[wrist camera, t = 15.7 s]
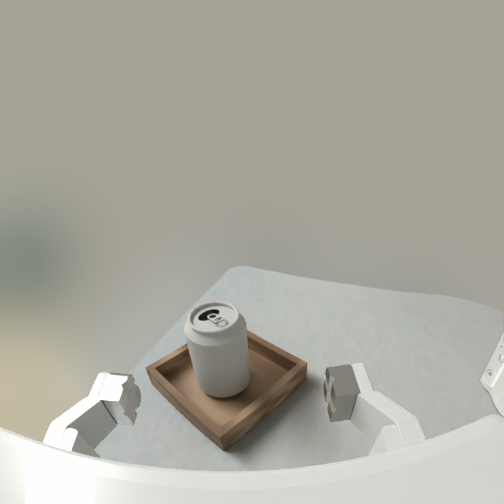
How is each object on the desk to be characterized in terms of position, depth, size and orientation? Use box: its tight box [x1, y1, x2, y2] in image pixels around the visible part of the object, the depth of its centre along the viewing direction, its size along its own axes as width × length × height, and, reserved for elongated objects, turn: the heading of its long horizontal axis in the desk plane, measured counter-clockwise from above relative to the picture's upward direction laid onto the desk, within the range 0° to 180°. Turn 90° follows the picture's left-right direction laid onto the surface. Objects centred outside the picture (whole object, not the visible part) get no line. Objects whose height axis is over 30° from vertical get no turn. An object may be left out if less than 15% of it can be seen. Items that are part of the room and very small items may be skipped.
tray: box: [146, 330, 307, 451], centre depth 41 cm, size 16×16×4 cm
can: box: [184, 301, 251, 397], centre depth 38 cm, size 8×8×12 cm
